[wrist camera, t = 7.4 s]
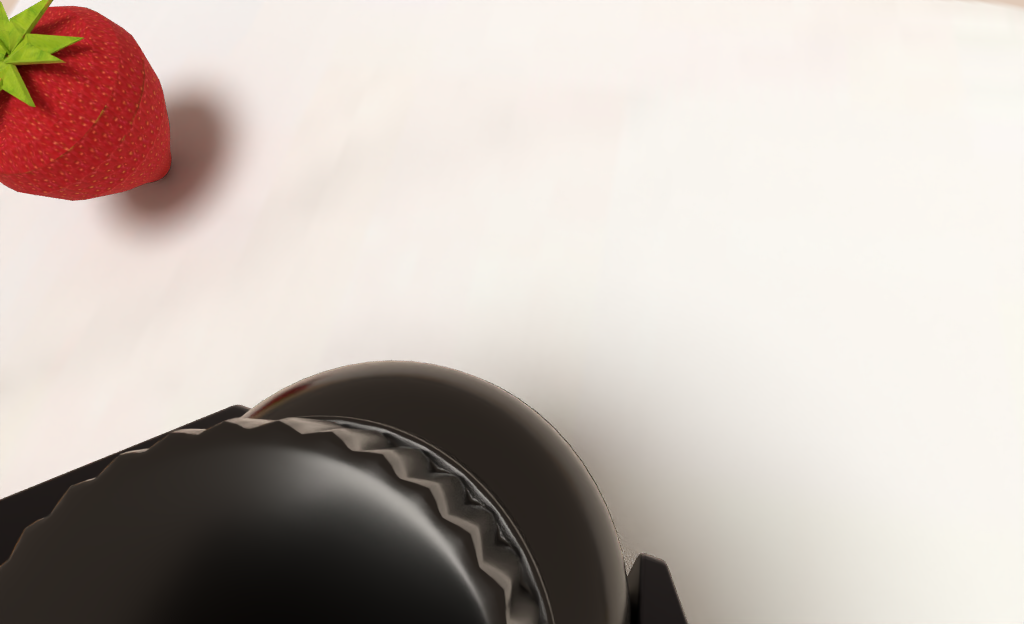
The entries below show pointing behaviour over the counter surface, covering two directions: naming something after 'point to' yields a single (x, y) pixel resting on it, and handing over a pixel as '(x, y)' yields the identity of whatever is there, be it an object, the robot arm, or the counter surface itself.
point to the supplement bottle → (334, 517)
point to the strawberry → (77, 106)
